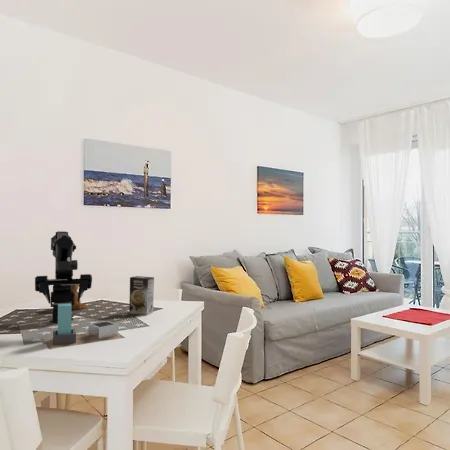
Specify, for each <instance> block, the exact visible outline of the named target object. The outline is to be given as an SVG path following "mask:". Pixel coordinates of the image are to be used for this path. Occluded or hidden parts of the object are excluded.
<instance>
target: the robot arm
mask: <svg viewBox="0 0 450 450" xmlns="http://www.w3.org/2000/svg"><path fill="white" fill-rule="evenodd" d="M75 250H77V245H76V244H75V243H74V241H73V240H72V237H71V236H70V235H69V231H61V230H60V231H58V230H57V231H56V232H55V234H54V235H53V236H52V237H51V238H50V251H52V256H53V257H54V258H55V263H54V264H55V270H54V271H55V272H54V273H55V276H54V278H51V279H50V278H48V275H36V276H35V277H34V291H35V292H38V293H39V294H42V295H43V296H44V297H45V299H46V300H47V302H48V304H50V308H52V319H50V320H49V322H51V323H58V304H69V303H71V305H72V306H73V305H74V302H75V294H74V292H73V291H71V285H79V288H78V291H77V292H78V302H79V301H80V302H81V298H82V297H83V295H82V294H84V292H85V291H88V290H91V288H92V284H93V283H92V282H93V277H92V276H93V275H91V274H90V273H89V274H88V273H84V274H82V273H81V274H80V275H79V278H73V276H74V271H77V270H78V265H79V264H78V259H73V252H74V253H75ZM50 286H52V291H50ZM81 296H82V297H81ZM73 319H74V318H73V317H71V321H73Z"/></svg>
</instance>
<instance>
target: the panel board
mask: <svg viewBox="0 0 450 450" xmlns="http://www.w3.org/2000/svg"><path fill="white" fill-rule="evenodd" d="M88 334H89V332H85V333H80V334H76V343H72V344H62V345H53V337H50V338H45V339H42V341H43V343H44V344H45V345H46V347H47V348H48V349H49V350H53V349H59V348H66V347H72V346H78V345H79V346H80V345H86V344H92V343H98V342H104V341H111V340H112V341H113V340H118V339H119V340H120V339H125V336H123V335H122V334H120V333H119V332H118V336H115V337H110V338H105V339H101V340H98V339H95V338H93V337H91V336H88Z"/></svg>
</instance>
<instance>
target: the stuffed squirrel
mask: <svg viewBox="0 0 450 450" xmlns="http://www.w3.org/2000/svg"><path fill="white" fill-rule="evenodd" d="M78 290H79V285H71V291H73V292H74V294H75V302H74V305H73V306H72V310H71V311H75V310H84V309H86V308H87V307H88V305H87V304H86V303H82V302H81V300H80V301H79V302H78V292H79V291H78ZM83 294H84V293H83ZM83 294H82V296H81V298H82V297H83Z"/></svg>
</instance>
